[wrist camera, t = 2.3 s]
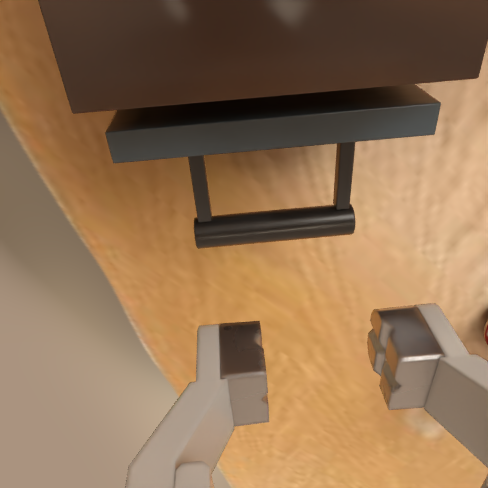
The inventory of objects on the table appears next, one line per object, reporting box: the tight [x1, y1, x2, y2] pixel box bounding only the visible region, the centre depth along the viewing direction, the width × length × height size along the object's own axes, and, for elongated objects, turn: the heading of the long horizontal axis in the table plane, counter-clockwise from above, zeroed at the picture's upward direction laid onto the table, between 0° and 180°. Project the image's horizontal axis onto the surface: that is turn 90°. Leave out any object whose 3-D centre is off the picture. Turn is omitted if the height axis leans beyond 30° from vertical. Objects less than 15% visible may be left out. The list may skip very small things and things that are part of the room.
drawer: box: [105, 84, 441, 249], centre depth 16 cm, size 17×12×7 cm
